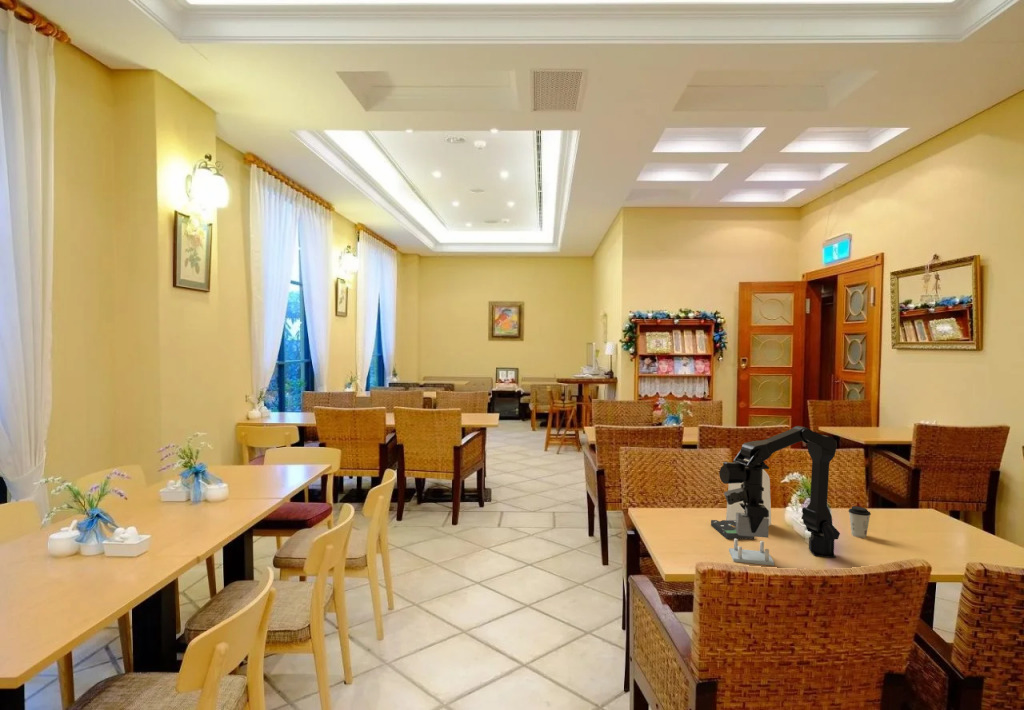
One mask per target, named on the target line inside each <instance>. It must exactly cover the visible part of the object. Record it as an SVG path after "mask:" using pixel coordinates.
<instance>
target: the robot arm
mask: <svg viewBox="0 0 1024 710" xmlns="http://www.w3.org/2000/svg"><path fill="white" fill-rule="evenodd" d="M800 442H802V443H805V444H806V445H807V452H808V454H809V456H810V459H811V477H810V497H809V504H808V505H807V506H806V507H805V506H803V507H802V508H801V509H802V510H801V512H802V515H801V520H802V523H803V525H804V526H805V528H806V531H807V532H809V533H810V536H809V537H808V550H809V551H810V552H811V553H812V555H813V556H815V557H824V558H825V557H827V558H834V559H835V558H836V557H837V556H836V555H835V540H838V539H839V538H840V537H839V536H840V535H841V534H840V531H838V529H837V528H836V527H835V526H834V525H833V517H832V513H831V511H830V509H829V508H828V496H829V475H830V473H829V472H830V463H831V461H832V460H834V459H833V458H834V457H835V456H836V451H837V446H838V445H837V444H838V443H837V439H835V438H834V437H833V436H828V435H824V434H821V433H818V432H817V431H814V430H812V429H810V428H808V427H806V426H800V425H795V426H794V427H792V428H791V429H788V430H785V431H782V432H781V433H778V434H776V435H773V436H770V437H769V438H766V439H762V440H761V439H760V440H752V441H747V442H744V443H743V444H742V445H741V448H740V450H739V451H738V453H737V455H736V456H735V457H734V459H733V461H732V462H731V461H730V462H729V461H723V463H722V465H721V467H720V468H719V471H718V473H719V474H718V476H719V478H720V481H721V482H722V483H723V484H728V485H729V484H732V483H742V484H741V488H738V489H733V490H730V491H728V490H727V491H726V490H725V491H724V492H723V494H724V497H725V500H726V503H727V502H728V504H729V505H732V504H734V503H737V502H741V501H742V503H740V506H741V507H742V508H743V509H744V510H745V511H744V512H745V514H746V515H747V516H748V517H749V520H750V527H751V532H752V533H756V531H757V529H758V527H759V525H760V523H761V522H762V520H763V518H764V517H769V511H768V509H767V508H766V507H765V506H764V505H760V504H764V501H763V499H762V491H764V488H763V487H762V476H763V469H764V470H769V469H770V467H769V466H768V465H767V464H766V463H765V461H766V460H768V459H770V458H771V456H772V455H773V454H774V453H776V452H778V451H780V450H782V449H786V448H788V447H790V446H792V445H795V444H797V443H800ZM744 459H746V460H749V461H746V460H744Z"/></svg>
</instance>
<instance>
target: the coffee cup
mask: <svg viewBox="0 0 1024 710" xmlns="http://www.w3.org/2000/svg"><path fill="white" fill-rule="evenodd" d="M848 514H849V515H848V516H849V523H850V524H849V525H850V531H851V532H850V534H851V535H852V537H856V538H867V536H868V535H867V534H868V528H869V522H870V518H871V517H870V516H871V515H872V514H871V511H869V510H868V509H867V508H865V507H863V506H855V505H854V506H852V507H851V508H849V509H848Z"/></svg>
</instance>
